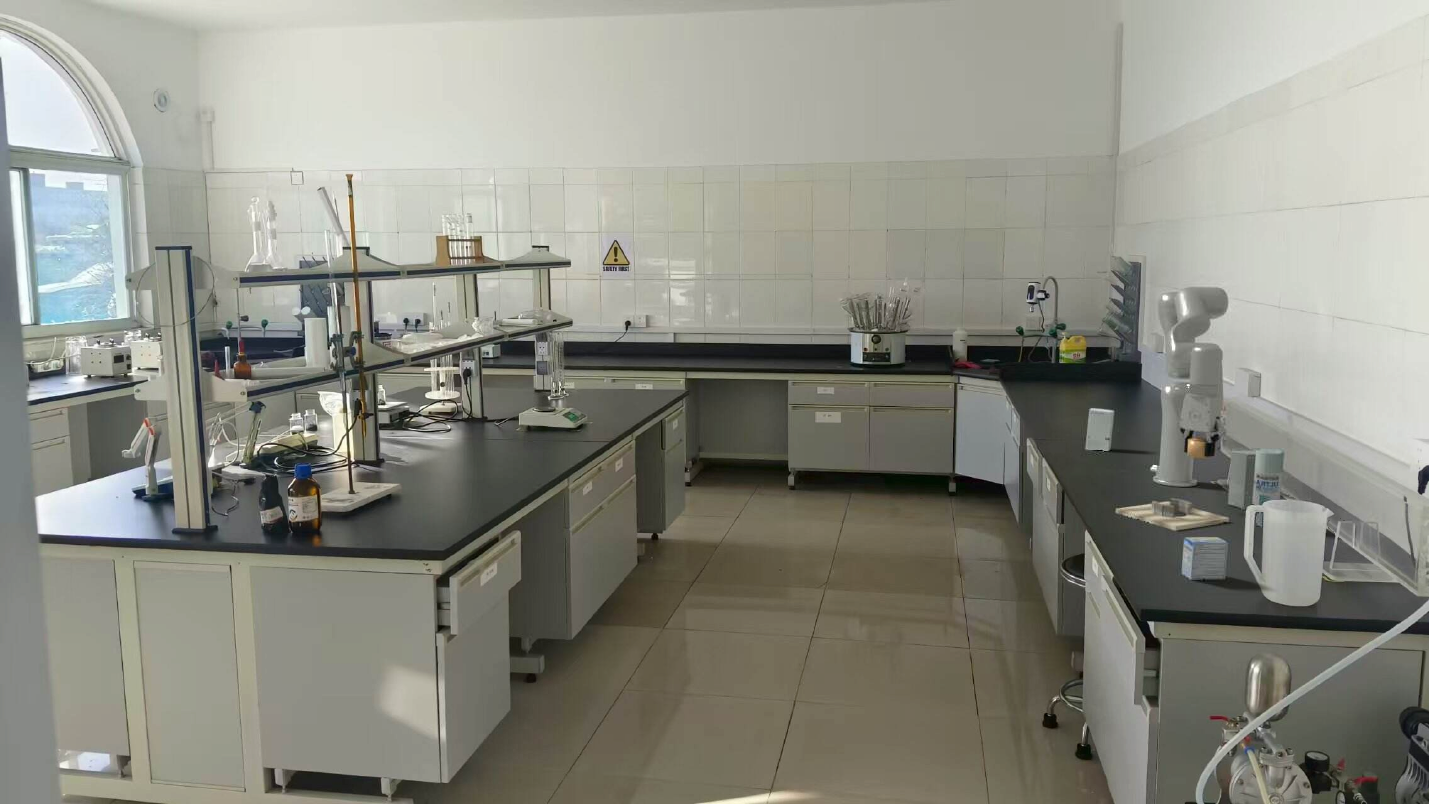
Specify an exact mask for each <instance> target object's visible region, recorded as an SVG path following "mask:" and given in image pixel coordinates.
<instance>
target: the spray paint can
mask: <svg viewBox="0 0 1429 804" xmlns="http://www.w3.org/2000/svg"><path fill="white" fill-rule="evenodd" d="M1255 451H1256V461H1255V474H1254V488H1253V502H1252V504H1254V505H1261V504H1263V503H1264V502H1266V501H1268V500H1276V499H1280V500H1281V491H1282V481H1283V472H1284V471H1283V469H1284V461H1285V460H1284V459H1285V452H1284V451H1283V450H1279V449H1272V448H1258V449H1256V450H1255ZM1256 523H1257V525H1258V526H1260V527H1259V528H1260V529H1263V528H1262V513H1261V512H1259V514H1257V516H1256Z"/></svg>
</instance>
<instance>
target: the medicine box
mask: <svg viewBox="0 0 1429 804" xmlns="http://www.w3.org/2000/svg"><path fill="white" fill-rule="evenodd" d="M1228 546H1229V543H1228V542H1227V541H1225V540H1224V539H1222V538H1220V537H1216V536H1210V537H1209V536H1202V537H1200V536H1197V537H1192V536H1191V537H1188V536H1187V537H1183V547H1182V548H1183V549H1182V550H1183V551H1182V563H1181V575H1182V576H1184V575H1185V576H1186V577H1185V576H1184V577H1185V578H1187V577H1188V578H1189V580H1190V581H1192V580H1194V581H1196V580H1200V581H1201V580H1203V579H1205V580H1226V571H1227V570H1226V569H1227V559H1228ZM1188 578H1187V579H1188Z"/></svg>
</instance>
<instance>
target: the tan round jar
mask: <svg viewBox="0 0 1429 804" xmlns="http://www.w3.org/2000/svg"><path fill="white" fill-rule="evenodd" d="M1206 442H1208V441H1207V437H1201V436H1195V437H1192V438H1191V439H1188V450H1187V456H1189V457H1193V458H1196V459H1197V458H1198V459H1210V458H1211V457H1205V443H1206Z"/></svg>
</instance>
